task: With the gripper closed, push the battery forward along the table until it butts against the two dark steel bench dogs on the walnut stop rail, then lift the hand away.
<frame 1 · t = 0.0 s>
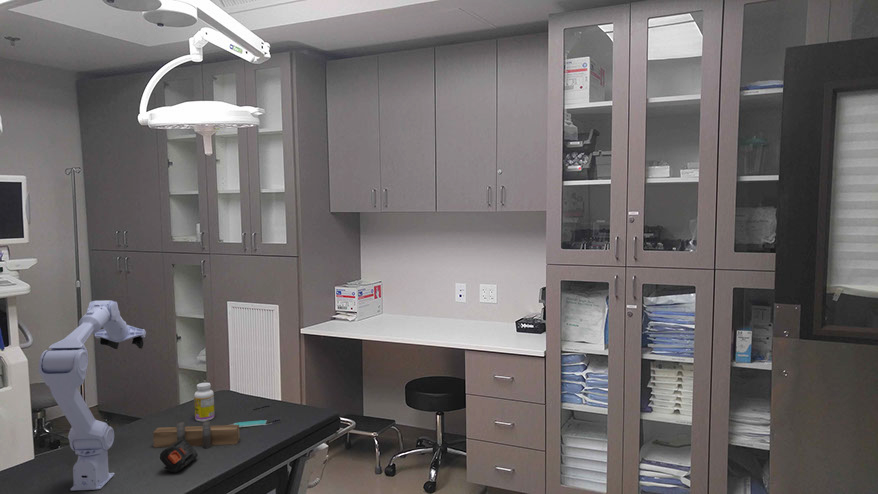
hand: (129, 346, 198), 32 cm above the table, tool tilted 50°, fingers open, 7 cm apart
supplement bottle: (204, 419, 222), on the table
battery: (180, 466, 183), on the table
surgical mask: (250, 426, 216), on the table
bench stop: (197, 443, 200), on the table
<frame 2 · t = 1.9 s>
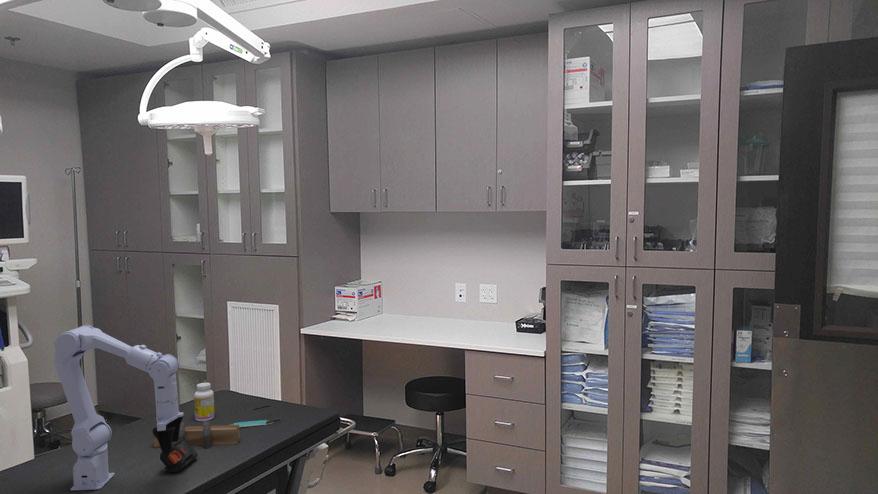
hand: (170, 446, 172), 10 cm above the table, tool pointing down, fingers open, 7 cm apart
nothing on the table moved.
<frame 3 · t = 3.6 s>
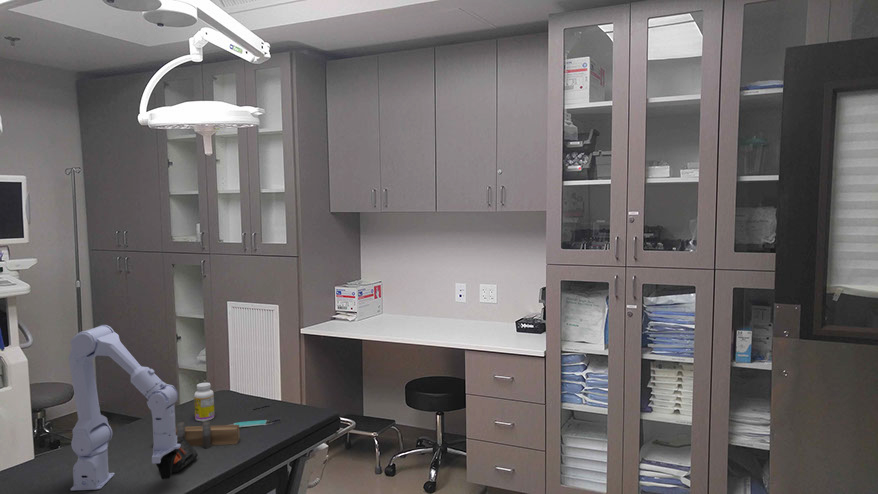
hand: (166, 477, 171), 2 cm above the table, tool pointing down, fingers closed
nothing on the table moved.
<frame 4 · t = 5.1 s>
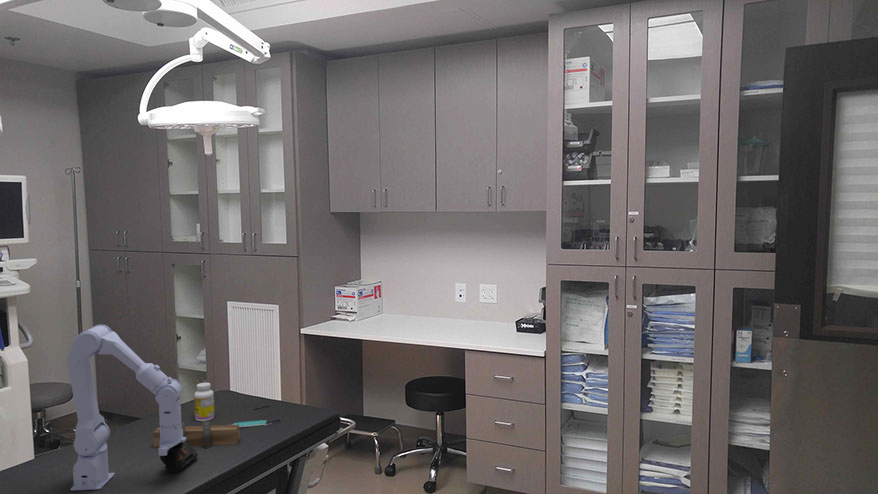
hand: (172, 469, 176), 2 cm above the table, tool pointing down, fingers closed
battery: (180, 466, 183), on the table, touching gripper
everything else where it was.
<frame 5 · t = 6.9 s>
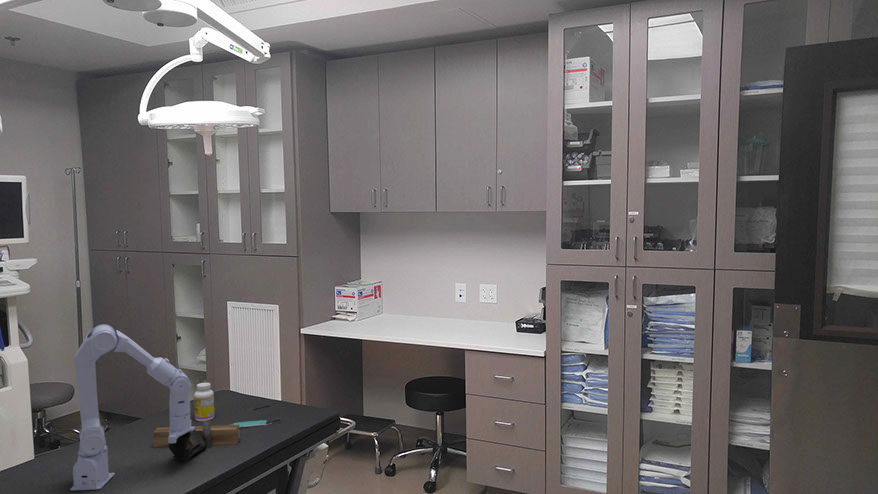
hand: (180, 457, 184), 2 cm above the table, tool pointing down, fingers closed, pressing on battery
battery: (189, 455, 190), on the table, touching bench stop, gripper
everything else where it was.
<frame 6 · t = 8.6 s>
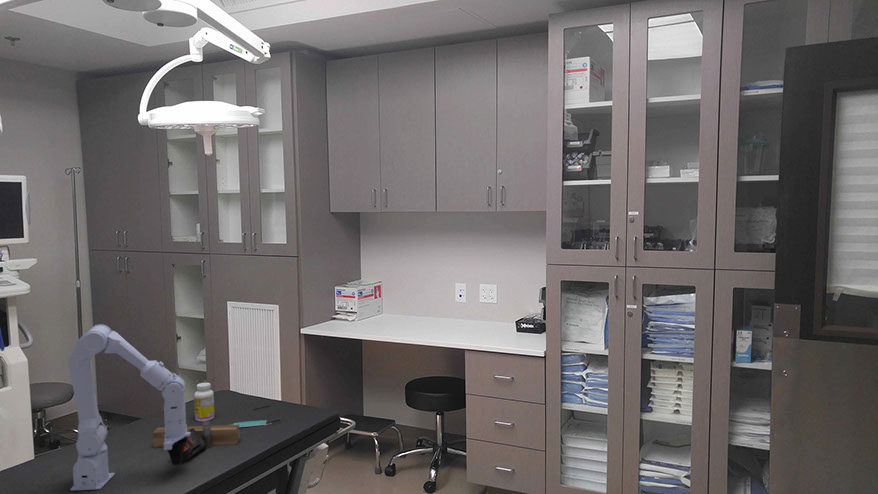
hand: (176, 463, 180), 2 cm above the table, tool pointing down, fingers closed
battery: (188, 456, 190), on the table
everything else where it was.
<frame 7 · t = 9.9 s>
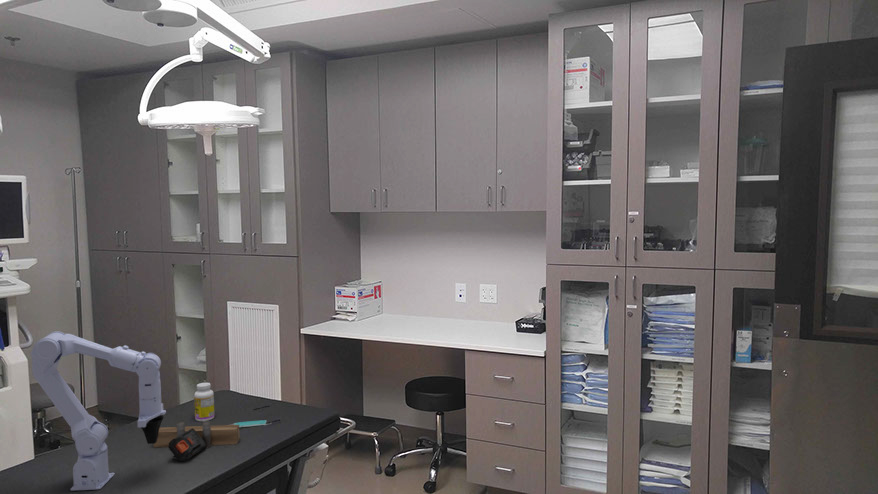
hand: (152, 442, 176), 9 cm above the table, tool pointing down, fingers closed
nothing on the table moved.
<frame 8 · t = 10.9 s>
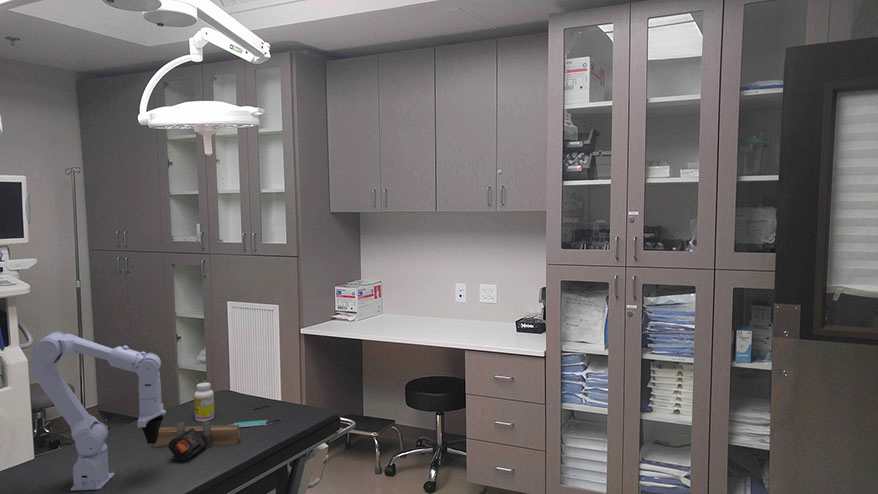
hand: (152, 442, 176), 9 cm above the table, tool pointing down, fingers closed
nothing on the table moved.
at the end: battery 0.3 cm from the target spot, on the table; battery tilted 0°; battery moved 7.7 cm from its start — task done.
